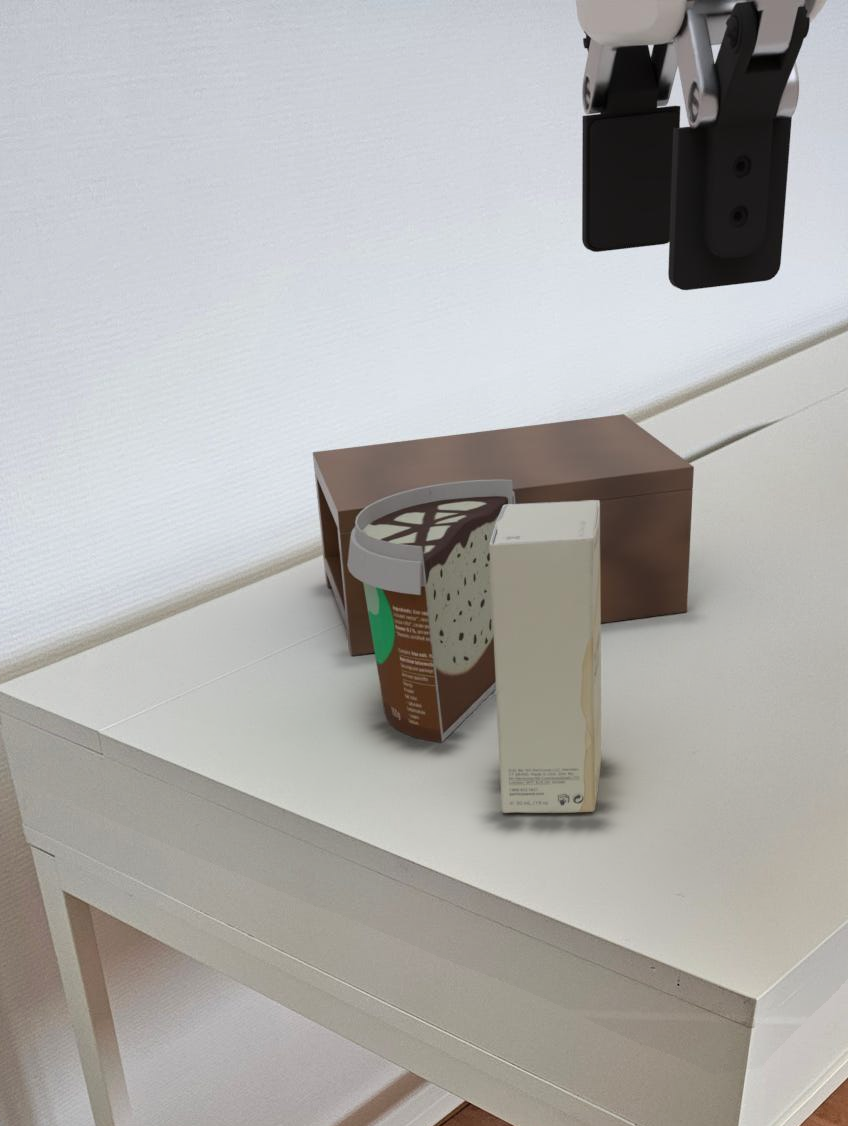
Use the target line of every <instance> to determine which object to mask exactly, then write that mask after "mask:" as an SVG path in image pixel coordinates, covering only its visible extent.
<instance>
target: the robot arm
mask: <svg viewBox="0 0 848 1126" xmlns="http://www.w3.org/2000/svg"><path fill="white" fill-rule="evenodd" d="M826 2H827V0H575V4H576V15H577V21H578V23H579V25H580V28H581V29H582V31H583V33H584V34H585V37H583V38H582V43H583V48H584V49H586V51H587V58H586V61H585V68H584V74H583V79H582V88H581V96H582V98H581V99H582V107H583V112H584V114H585V115H582V135H581V136H582V137H581V138H582V141H581V143H582V149H581V150H582V154H581V155H582V156H581V157H582V161H581V162H582V167H581V168H582V171H581V172H582V173H581V176H582V177H581V181H582V183H581V188H582V189H581V191H582V193H581V199H582V200H581V204H582V205H581V208H582V209H581V211H582V212H581V240H582V245H583V246H584V247H585V249H587V250H589V251H590V252H593V253H594V252H595V253H599V252H601V253H602V252H607V251H617V250H626V249H634V248H635V249H636V248H643V247H651V246H660V245H666V244H668V243H669V244H668V272H667V275H668V276H667V277H668V280H669V283H670V284H671V285H672V286H673V287H674V288H677V289H680V290H682V291H691V290H692V291H693V290H700V289H709V288H717V287H724V286H734V285H743V284H752V283H760V282H767V281H770V280H772V279H773V278H775V277H776V276H777V274H778V273H779V271H780V269H781V264H782V252H783V238H784V225H785V214H786V213H785V211H786V199H787V185H788V172H789V159H790V145H791V132H792V121H793V120H792V119H793V118H792V117H793V115H794V114H795V112H796V110H797V106H798V102H799V96H800V95H799V94H800V78H799V72H798V71H799V70H798V66H797V60H798V56H799V54H800V52H801V49H802V46H803V43H804V41H805V40H804V39H806V38H807V36H808V35H809V31H810V23H811V22H812V21H814V19H815V18H816V17H817V16H818V15H819V13H820V12H821V11H822V9H823V8H824V6H825V4H826ZM719 45H720V46H719ZM649 46H652V50H651V52H650V48H649ZM712 46H719V50H718V53H717V55H716V59H715V58H714V53H713V47H712ZM677 70H678V72H679V74H678V75H679V79H680V86H681V88H682V96H683V100H684V101H683V102H684V107H685V112H686V118H687V122H688V125H689V126H684V127H683V126H681V105H669V106H667V105H668V104H669V102H670V101H669V100H670V98H671V94H672V90H673V87H674V86H673V85H674V82H675V78H676V74H677Z"/></svg>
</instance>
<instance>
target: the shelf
mask: <svg viewBox="0 0 848 1126" xmlns="http://www.w3.org/2000/svg"><path fill="white" fill-rule="evenodd" d="M312 460H313V469H314V470H313V471H314V479H315V480H314V481H315V490H316V500H317V508H318V509H317V510H318V518H319V519H318V520H319V528H320V538H321V549H322V557H323V568H324V577H325V584H326V586H327V588H331V590H332V592H333V595H334V597H335V598H334V599H335V601H336V603H337V606H338V609H339V611H340V615H341V618H342V620H343V623H344V626H345V629H346V631H347V632H346V634H347V642H348V643H347V644H348V649H349V653H350V655H351V656H359V655H367V654H375V651H374V645H373V639H372V632H371V626H370V620H369V614H368V608H367V602H366V596H365V590H364V584H363V582H361V581H360V580H358V579H357V578H355V577H354V576H353V575H352V574H351V573H350V572H349V569H348V566H347V564H348V555H349V546H350V537H351V533H352V530H353V529H354V527H355V521H356V517H357V516H358V514H359V513H360V512H361V511H362V510H363V509H364V508H366V507H367V506H369V505H371V504H372V503H374V502H376V501H378V500H381V499H383V498H386V497H388V496H391V495H394V494H397V493H401V492H404V491H408V490H412V489H416V488H421V487H426V486H431V485H438V484H444V483H452V482H461V481H474V480H512V487H513V491H514V493H515V503H516V504H529V503H550V502H569V501H584V500H599V501H600V602H601V624H605V623H611V622H612V623H613V622H619V621H629V620H634V619H635V620H636V619H642V618H643V619H644V618H650V617H652V618H653V617H657V616H658V617H660V616H667V615H673V614H682V613H687V612H688V597H689V595H688V593H689V574H690V557H691V556H690V553H691V531H692V513H693V512H692V511H693V493H694V492H693V489H694V476H695V475H694V473H695V467H694V465H692V464H691V463H690V462H688V461H687V460H686V459H684V458H683V457H682V456H680V455H679V454H678V453H676V452H675V451H674V450H672V449H671V448H670V447H668V446H667V445H666V444H664V443H663V442H662V441H660V440H659V439H657V438H656V437H655V436H654V435H652V434H651V433H649V432H648V431H647V430H646V429H644V428H643V427H641V426H640V425H639V424H638V423H636V422H635V421H634V420H632V419H631V418H629V417H628V416H627V415H626V414H624V413H622V414H616V415H607V416H598V417H589V418H582V419H581V418H580V419H573V420H565V421H564V420H563V421H557V422H549V423H541V424H532V425H524V426H517V427H515V426H514V427H509V428H507V427H506V428H500V429H499V428H498V429H491V430H490V429H489V430H484V431H476V432H475V431H474V432H467V433H459V434H450V435H442V436H433V437H426V438H417V439H409V440H401V441H393V442H385V443H379V444H378V443H376V444H368V445H361V446H353V447H352V446H351V447H345V448H344V447H343V448H335V449H329V450H328V449H327V450H320V451H312Z"/></svg>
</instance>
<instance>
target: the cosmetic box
mask: <svg viewBox="0 0 848 1126" xmlns="http://www.w3.org/2000/svg"><path fill="white" fill-rule="evenodd" d="M489 549H490V572H491V593H492V615H493V634H494V656H495V676H496V689H495V692H496V719H497V721H496V722H497V739H498V757H499V774H500V775H499V777H500V801H501V812H502V813H504V814H510V813H522V814H523V813H524V814H566V813H568V814H570V813H571V814H572V813H573V814H574V813H590V812H591V813H592V812H594V811H595V810H596V804H597V798H598V793H599V785H600V774H601V764H602V627H601V626H602V623H601V602H600V501H599V500H584V501H569V502H550V503H529V504H506V505H503V507H502V509H501V512H500V514H499V517H498V519H497V521H496V524H495V527H494V530H493V534H492V537H491V541H490V544H489Z"/></svg>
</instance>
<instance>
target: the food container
mask: <svg viewBox="0 0 848 1126" xmlns="http://www.w3.org/2000/svg"><path fill="white" fill-rule="evenodd" d="M506 504H516V503H515V493H514V491H513V487H512V480H474V481H461V482H452V483H444V484H438V485H431V486H426V487H421V488H416V489H412V490H408V491H404V492H401V493H397V494H394V495H391V496H388V497H386V498H383V499H381V500H378V501H376V502H374V503H372V504H371V505H369V506H367V507H366V508H364V509H363V510H362V511H361V512H360V513H359V514H358V516H357V517H356V521H355V527H354V529H353V530H352V533H351V537H350V546H349V555H348V564H347V566H348V569H349V572H350V573H351V574H352V575H353V576H354V577H355V578H357V579H358V580H360V581H361V582H363V584H364V590H365V596H366V602H367V608H368V614H369V620H370V626H371V632H372V639H373V645H374V651H375V653H374V656H375V661H376V668H377V669H376V670H377V674H378V681H379V687H380V692H381V693H380V694H381V698H382V704H383V711H384V716H385V718H386V720H387V722H388V723H389V724H390V725H391V726H392V727H393V728H395V729H396V730H398V731H399V732H402V733H403V734H406V735H409V736H411V737H414V738H418V739H422V740H425V741H430V742H437V743H443V742H444V741H445V740H446V739H447V738H449V736H450V735H451V734H452V733H453V732H454V731H455V730H456V729H457V728H458V727H459V726H460V725H461V724H462V723H463V722H464V721H466V719H467V718H468V717H469V716H470V715H472V713H473V712H475V710H476V709H477V708H479V706H480V705H481V704H482V703H483V702H484V701H485V700H487V698H488V697H490V695H491V694H492V693H493V692H494V691H496V676H495V656H494V634H493V615H492V593H491V572H490V549H489V544H490V541H491V537H492V534H493V530H494V527H495V524H496V521H497V519H498V517H499V514H500V512H501V509H502V507H503V505H506Z"/></svg>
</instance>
